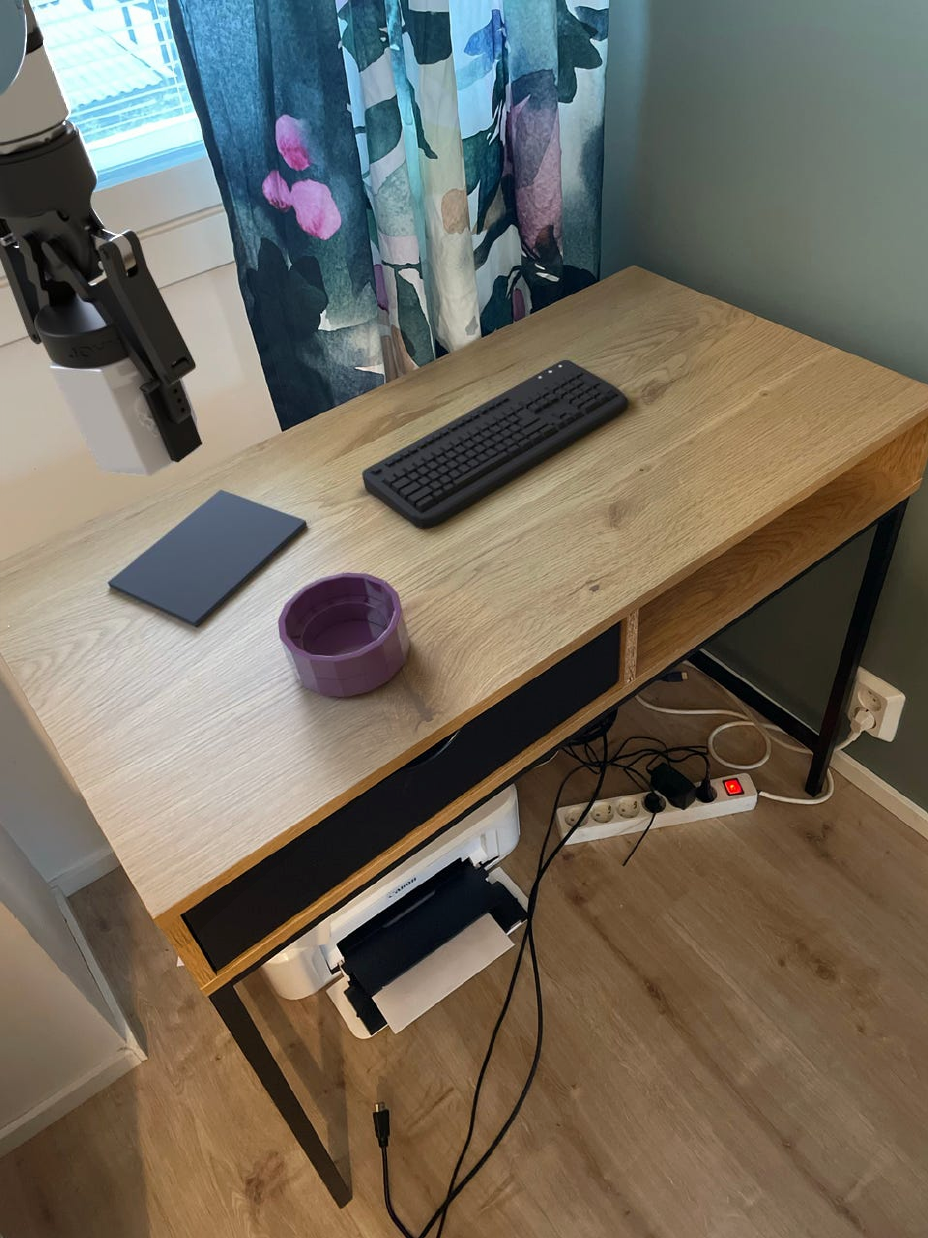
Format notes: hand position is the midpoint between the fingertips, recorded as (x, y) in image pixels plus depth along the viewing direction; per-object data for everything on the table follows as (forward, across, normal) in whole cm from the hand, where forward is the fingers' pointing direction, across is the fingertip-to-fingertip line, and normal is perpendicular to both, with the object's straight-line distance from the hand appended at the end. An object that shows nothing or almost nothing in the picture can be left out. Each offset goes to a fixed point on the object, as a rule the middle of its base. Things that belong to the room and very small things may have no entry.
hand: (146, 437), depth 72 cm
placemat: (+18, +5, -4) cm, 19 cm away
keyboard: (+18, -12, -32) cm, 39 cm away
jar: (+1, 0, 0) cm, 1 cm away
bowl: (+18, -16, 0) cm, 24 cm away
